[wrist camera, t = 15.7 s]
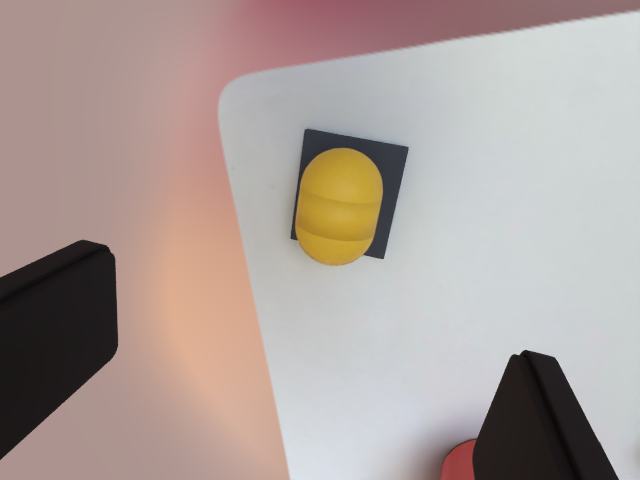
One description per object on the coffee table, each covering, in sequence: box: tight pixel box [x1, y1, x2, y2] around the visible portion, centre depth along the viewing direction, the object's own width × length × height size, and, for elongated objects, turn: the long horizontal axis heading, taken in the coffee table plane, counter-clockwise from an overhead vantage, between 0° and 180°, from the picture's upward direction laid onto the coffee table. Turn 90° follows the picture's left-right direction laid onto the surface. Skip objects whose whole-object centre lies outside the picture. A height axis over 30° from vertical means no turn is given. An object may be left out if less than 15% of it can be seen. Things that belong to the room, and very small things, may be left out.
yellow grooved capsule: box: [295, 148, 383, 266], centre depth 27 cm, size 8×5×5 cm
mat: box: [291, 129, 408, 259], centre depth 29 cm, size 8×7×1 cm
